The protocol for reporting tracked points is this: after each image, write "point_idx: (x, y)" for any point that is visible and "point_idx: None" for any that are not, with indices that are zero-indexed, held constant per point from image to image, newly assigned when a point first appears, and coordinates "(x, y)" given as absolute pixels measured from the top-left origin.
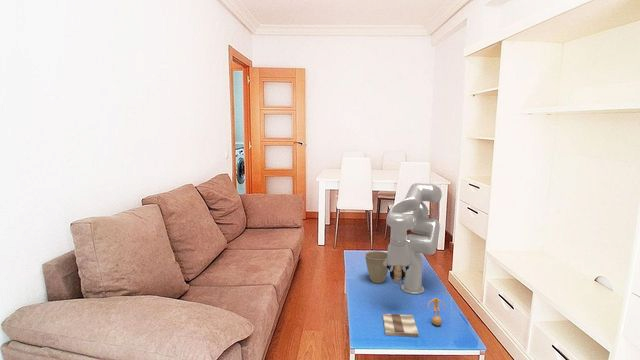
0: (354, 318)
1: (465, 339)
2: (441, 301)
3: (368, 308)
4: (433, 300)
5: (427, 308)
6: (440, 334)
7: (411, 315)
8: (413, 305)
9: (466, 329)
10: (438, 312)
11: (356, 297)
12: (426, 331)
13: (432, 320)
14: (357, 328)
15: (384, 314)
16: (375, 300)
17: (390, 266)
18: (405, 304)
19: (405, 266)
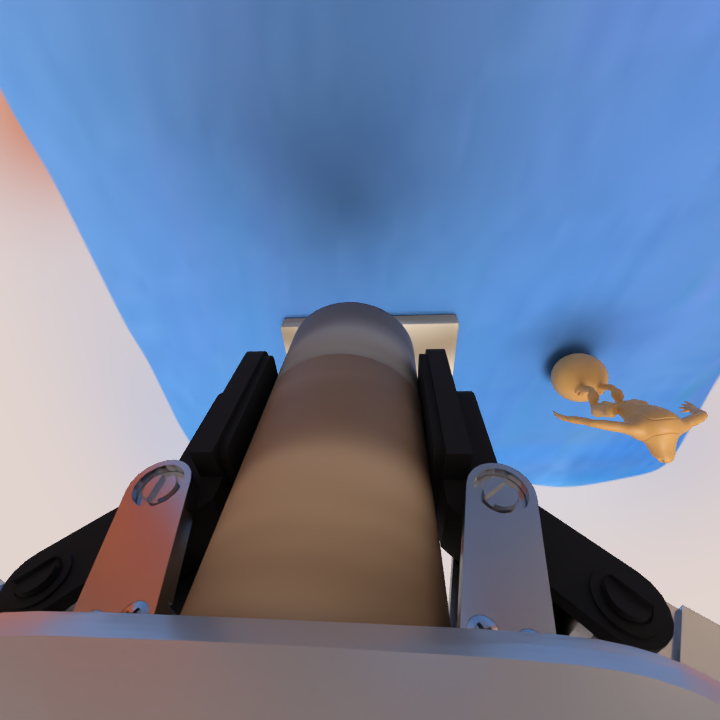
0: (145, 350)
1: (634, 448)
2: (701, 421)
3: (179, 228)
4: (634, 437)
5: (554, 412)
6: (543, 428)
7: (450, 328)
8: (521, 116)
9: (704, 386)
10: (616, 399)
11: (4, 14)
12: (488, 415)
13: (553, 379)
14: (191, 419)
15: (291, 334)
16: (192, 60)
17: (131, 555)
18: (455, 106)
19: (556, 596)
